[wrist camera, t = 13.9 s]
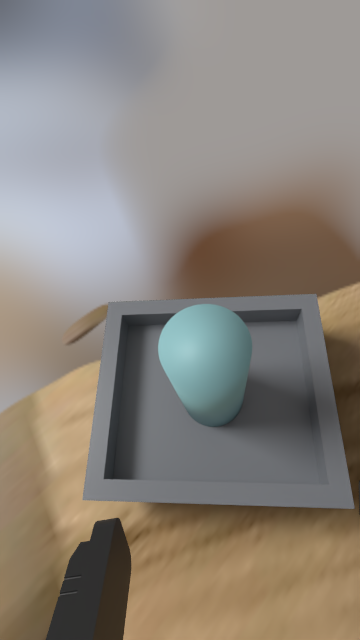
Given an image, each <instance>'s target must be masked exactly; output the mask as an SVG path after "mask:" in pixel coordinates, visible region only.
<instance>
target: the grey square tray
mask: <svg viewBox="0 0 360 640" xmlns="http://www.w3.org/2000/svg"><path fill="white" fill-rule="evenodd" d="M198 304H214V305H218V306H222V307H225V308H227V309H229V310H231V311H232V312H234V313H235V314H237V315H238V316H239V317H240V318H241V319H242V320H243V322H244V323H245V324H246V326H247V328H248V330H249V332H250V335H251V339H252V355H251V361H250V366H249V372H248V377H247V382H246V388H245V393H244V398H243V404H242V407H241V410H240V412H239V413H238V415H237V416H236V417H235V418H234V419H233V420H232V421H230V422H229V423H227V424H225V425H222V426H218V427H209V426H205V425H202V424H200V423H198V422H196V421H195V420H194V419H193V418H191V416H190V415H189V414H188V412H187V411H186V409H185V407H184V405H183V403H182V402H181V400H180V398H179V396H178V394H177V393H176V391H175V389H174V387H173V385H172V383H171V382H170V380H169V378H168V376H167V374H166V373H165V371H164V369H163V367H162V365H161V362H160V359H159V354H158V343H159V338H160V335H161V332H162V330H163V328H164V326H165V325H166V324H167V322H168V321H169V320H170V319H171V318H172V317H173V316H174V315H175V314H176V313H178V312H179V311H181V310H183V309H185V308H187V307H190V306H193V305H198ZM83 500H96V501H126V502H157V503H188V504H219V505H249V506H280V507H311V508H342V509H355V507H354V501H353V496H352V490H351V485H350V479H349V474H348V468H347V462H346V457H345V451H344V446H343V440H342V435H341V429H340V424H339V418H338V412H337V407H336V401H335V396H334V390H333V385H332V379H331V373H330V368H329V362H328V357H327V351H326V346H325V340H324V335H323V329H322V323H321V318H320V312H319V307H318V301H317V296H316V294H304V295H278V296H254V297H253V296H252V297H227V298H201V299H176V300H150V301H124V302H109V304H108V311H107V319H106V326H105V334H104V342H103V350H102V357H101V364H100V372H99V379H98V387H97V394H96V402H95V409H94V417H93V424H92V432H91V439H90V447H89V454H88V462H87V469H86V477H85V484H84V492H83Z"/></svg>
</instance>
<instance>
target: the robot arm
mask: <svg viewBox="0 0 360 640" xmlns="http://www.w3.org/2000/svg"><path fill="white" fill-rule="evenodd" d="M359 513H360V481H359ZM130 575H131V555H130V549H129V546H128V543H127V540H126V537H125V534H124V531H123V527H122V524H121V521H120V519H119V518H114V519H108V520H101V521H97V522H96V523H95V524H94V527H93V531H92V535H91V539H90V541H86V542H81V543H80V544H79V546H78V547H77V549H76V550H75V552H74V553H73V555H72V556H71V558H70V560H69V564H68V567H67V570H66V574H65V577H64V578H65V580H64V581H63V584H62V587H61V591H60V597H58V601H57V604H56V607H55V611H54V614H53V617H52V621H51V624H50V628H49V631H48V634H47V638H46V640H123V635H124V626H125V618H126V609H127V601H128V592H129V584H130Z"/></svg>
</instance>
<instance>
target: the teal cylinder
mask: <svg viewBox="0 0 360 640" xmlns="http://www.w3.org/2000/svg"><path fill="white" fill-rule="evenodd" d="M158 354H159V359H160V362H161V365H162V367H163V369H164V371H165V373H166V374H167V376H168V378H169V380H170V382H171V383H172V385H173V387H174V389H175V391H176V393H177V394H178V396H179V398H180V400H181V402H182V403H183V405H184V407H185V409H186V411H187V412H188V414H189V415H190V416H191V418H193V419H194V420H195V421H196V422H198V423H200V424H202V425H205V426H209V427H218V426H222V425H225V424H227V423H229V422H230V421H232V420H233V419H234V418H235V417H236V416H237V415H238V413H239V412H240V410H241V407H242V404H243V398H244V393H245V388H246V382H247V377H248V372H249V366H250V361H251V355H252V339H251V335H250V332H249V330H248V328H247V326H246V324H245V323H244V322H243V320H242V319H241V318H240V317H239V316H238V315H237V314H235V313H234V312H232V311H231V310H229V309H227V308H225V307H222V306H218V305H214V304H198V305H193V306H190V307H187V308H185V309H183V310H181V311H179V312H178V313H176V314H175V315H174V316H173V317H172V318H171V319H170V320H169V321H168V322H167V324H166V325H165V326H164V328H163V330H162V332H161V335H160V338H159V343H158Z"/></svg>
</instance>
